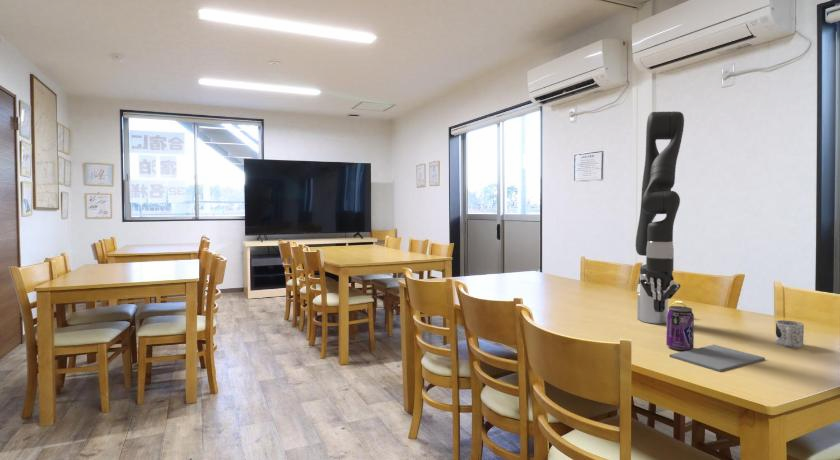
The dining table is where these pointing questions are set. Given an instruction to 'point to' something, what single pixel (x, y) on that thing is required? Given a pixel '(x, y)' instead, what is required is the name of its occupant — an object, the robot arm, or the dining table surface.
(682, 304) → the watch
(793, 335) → the mug
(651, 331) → the dining table surface
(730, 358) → the mat
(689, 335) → the beverage can
